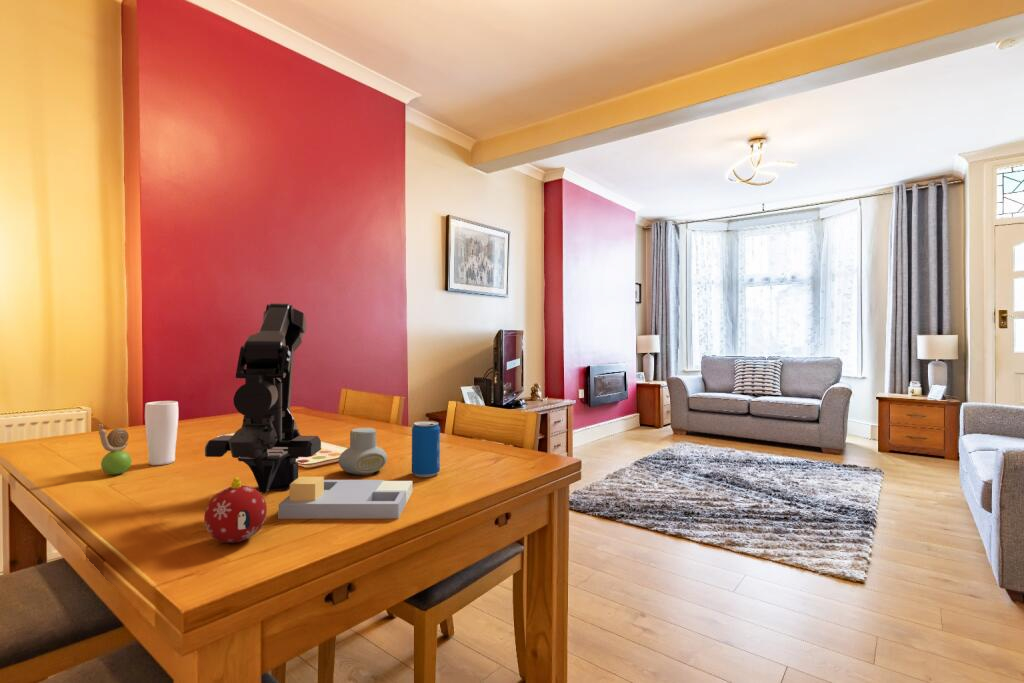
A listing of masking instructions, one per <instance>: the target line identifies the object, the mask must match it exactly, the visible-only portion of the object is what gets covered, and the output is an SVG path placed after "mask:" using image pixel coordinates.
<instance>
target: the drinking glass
mask: <svg viewBox="0 0 1024 683" xmlns="http://www.w3.org/2000/svg"><path fill="white" fill-rule="evenodd" d="M179 413H180V412H179V402H178V401H176V400H159V401H150V402H146V403H145V406H144V424H145V434H146V443H147V453H148V464H149V465H151V466H163V465H164V466H165V465H169V464H172V463H174V462H175V460H176V448H177V447H176V446H177V437H178V429H179V428H178V427H179V415H180V414H179Z"/></svg>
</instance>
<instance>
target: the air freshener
mask: <svg viewBox="0 0 1024 683" xmlns="http://www.w3.org/2000/svg"><path fill="white" fill-rule="evenodd" d="M349 439H350V440H349V447H348V448H346V449H345V450H343V451H342V452H341V453H340V455H339V457H338V465H339V467H340V468H341V469H342V470H343V471H344V472H346V473H348V474H351V475H356V476H369V475H372V474H374V473H376V472H378V471H380V470H381V469H382V468H383V467H384V466H385V465H386V463H387V461H388V455H387V452H386V451H385V450H384V449H383V448H382V447H379V446H377V430H376V428H373V427H357V428H352V429H351V430H350V433H349Z"/></svg>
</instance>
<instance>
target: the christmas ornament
mask: <svg viewBox="0 0 1024 683" xmlns="http://www.w3.org/2000/svg"><path fill="white" fill-rule="evenodd" d="M267 510H268V509H267V502H266V500H265V497H264V496H263V495H262V493H261V491H260V492H259V490H256V488H254V487H252V486H248V485H242V481H241V480H240V478H239V477H237V476H236V477H234V478H233V481H231V486H229V487H226V488H224V489H222V490H220V491H219V492H217V493H216V494H215V495H214V496H213V497H212V498H211V499H210V500H209V502H208V504H207V506H206V508H205V511H204V516H203V519H204V522H203V523H204V526H205V528H206V530H207V533H208V534H209V535H210V537H212V538H214V539H215V540H217V541H219V542H221V543H226V544H235V543H241V542H244V541H246V540H248V539H250V538H251V537H253V536H254V535H255V534H256V533H257V532H259V530H260V529H261V528H262V526H263V525H264V522H265V520H266V517H267V513H268V512H267Z"/></svg>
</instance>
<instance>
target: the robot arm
mask: <svg viewBox="0 0 1024 683" xmlns="http://www.w3.org/2000/svg"><path fill="white" fill-rule="evenodd" d="M265 306H266V308H265V311H263V313H262V315H263V318H262V324H261V326H260V328H259V331H258V332H257V333H254V334H251V335H249V336H248V337H247V339H246V340H245V341H244V343H243V344H244V345H241V346H240V349H239V356H238V361H237V366H236V373H235V379H236V380H237V379H244V380H245V382H244V384H243V385H241V386H240V387H238V389H237V390H236V391H235V393H234V397H233V405H234V407H235V409H236V411H237V412H238V413H240V414H241V415H242V416H243V418H242V425H241V428H238V429H237V430H236V431H235V433H234V434H232V435H230V434H227V435H226V434H222V435H220V436H217V437H215V438H212V439H209V440H208V441H207V442H206V444H205V447H204V456H205V457H206V458H221V457H223V456H224V455H225V454H227V453H228V452H230V453H231V457H232V458H233V459H237V461H238V462H243V463H244V464H245V465H247V466H248V467H249V469H250V471H251V472H252V474H253V477H254V479H255V481H256V484H257V487H256V488H255V489H256V490H257V491H260V493H261V494H267V493H268V492H269V491H287V490H290V484H291V483H292V482H293V481H295V480H296V479H297V478H299V462H298V461H297V459H299V458H310V457H313V456H315V454H317V453H318V452H320V451H321V450H322V440H321V439H320V437H319V436H318V435H301V434H300V430H299V429H298V428H297V426H298V425H297V423H296V421H295V418H294V417H293V414H292V413H291V399H292V387H293V386H292V385H293V370H294V356H295V352H296V351H297V349H298V348H299V346H301V345H302V343H303V337H304V334H306V330H307V322H306V316H305V313H304V312H302V311H300V310H299V309H296V308H294V306H293V305H292V304H290V303H277V302H276V303H274V302H273V303H272V302H271V303H269V304H266V305H265Z"/></svg>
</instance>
